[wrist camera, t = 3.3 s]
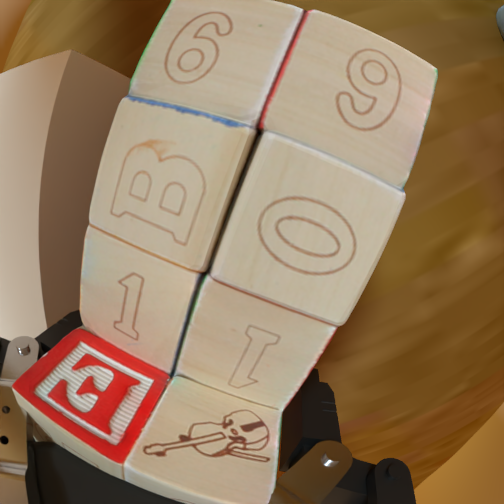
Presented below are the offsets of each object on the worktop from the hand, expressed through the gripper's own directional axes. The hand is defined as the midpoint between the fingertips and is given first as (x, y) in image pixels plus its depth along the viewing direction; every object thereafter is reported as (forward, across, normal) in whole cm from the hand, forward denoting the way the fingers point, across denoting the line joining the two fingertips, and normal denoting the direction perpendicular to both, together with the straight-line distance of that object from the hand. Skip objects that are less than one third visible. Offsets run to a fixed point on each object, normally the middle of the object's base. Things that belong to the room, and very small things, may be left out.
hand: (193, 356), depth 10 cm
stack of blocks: (+6, 0, 0) cm, 6 cm away
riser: (+6, +12, 0) cm, 14 cm away
